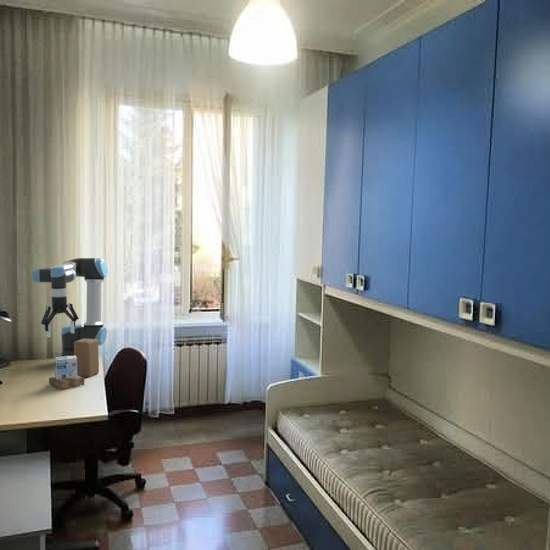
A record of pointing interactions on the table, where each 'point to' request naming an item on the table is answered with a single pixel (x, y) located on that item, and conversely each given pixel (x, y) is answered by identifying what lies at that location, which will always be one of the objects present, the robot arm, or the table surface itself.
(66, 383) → the brown open tray
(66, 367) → the light bulb box
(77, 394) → the table surface
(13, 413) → the table surface
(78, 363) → the wooden block
